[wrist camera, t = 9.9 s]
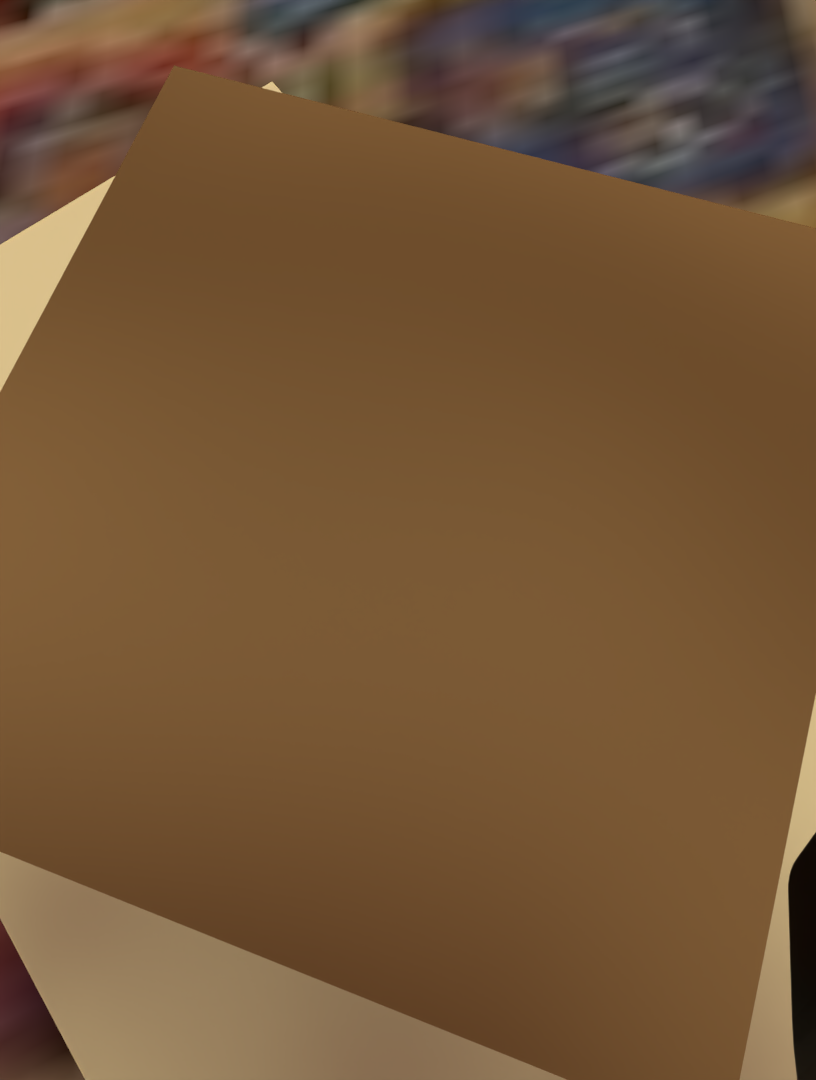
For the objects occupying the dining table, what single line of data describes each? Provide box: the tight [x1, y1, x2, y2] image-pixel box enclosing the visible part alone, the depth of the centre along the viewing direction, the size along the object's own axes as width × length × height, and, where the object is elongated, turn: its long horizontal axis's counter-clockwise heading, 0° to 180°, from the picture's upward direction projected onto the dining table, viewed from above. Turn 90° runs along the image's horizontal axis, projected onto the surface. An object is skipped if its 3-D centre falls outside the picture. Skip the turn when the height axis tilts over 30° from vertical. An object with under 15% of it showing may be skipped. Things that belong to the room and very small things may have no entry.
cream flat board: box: [0, 82, 816, 1080], centre depth 16 cm, size 17×27×2 cm, turn 37°
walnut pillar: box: [0, 66, 816, 1080], centre depth 10 cm, size 5×5×12 cm
